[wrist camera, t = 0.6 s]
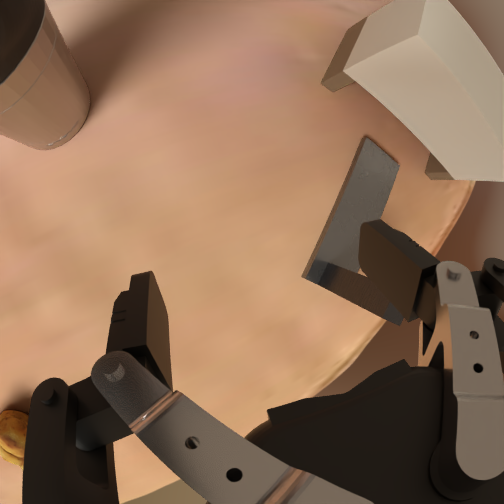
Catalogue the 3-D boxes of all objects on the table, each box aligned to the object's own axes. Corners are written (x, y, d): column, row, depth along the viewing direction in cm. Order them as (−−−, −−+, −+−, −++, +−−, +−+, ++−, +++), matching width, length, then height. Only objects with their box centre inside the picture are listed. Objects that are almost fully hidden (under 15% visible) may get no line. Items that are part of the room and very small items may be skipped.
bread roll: (82, 454, 31) (77, 493, 24) (45, 468, 29) (38, 503, 22) (20, 393, 27) (3, 430, 20) (-13, 413, 26) (-30, 445, 18)
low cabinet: (431, 179, 42) (520, 182, 26) (320, 83, 33) (417, 34, 17) (447, 116, 42) (525, 107, 26) (350, 23, 33) (430, -25, 17)
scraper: (340, 294, 39) (409, 330, 27) (300, 276, 37) (368, 312, 25) (394, 166, 39) (468, 162, 27) (361, 138, 37) (437, 123, 24)
